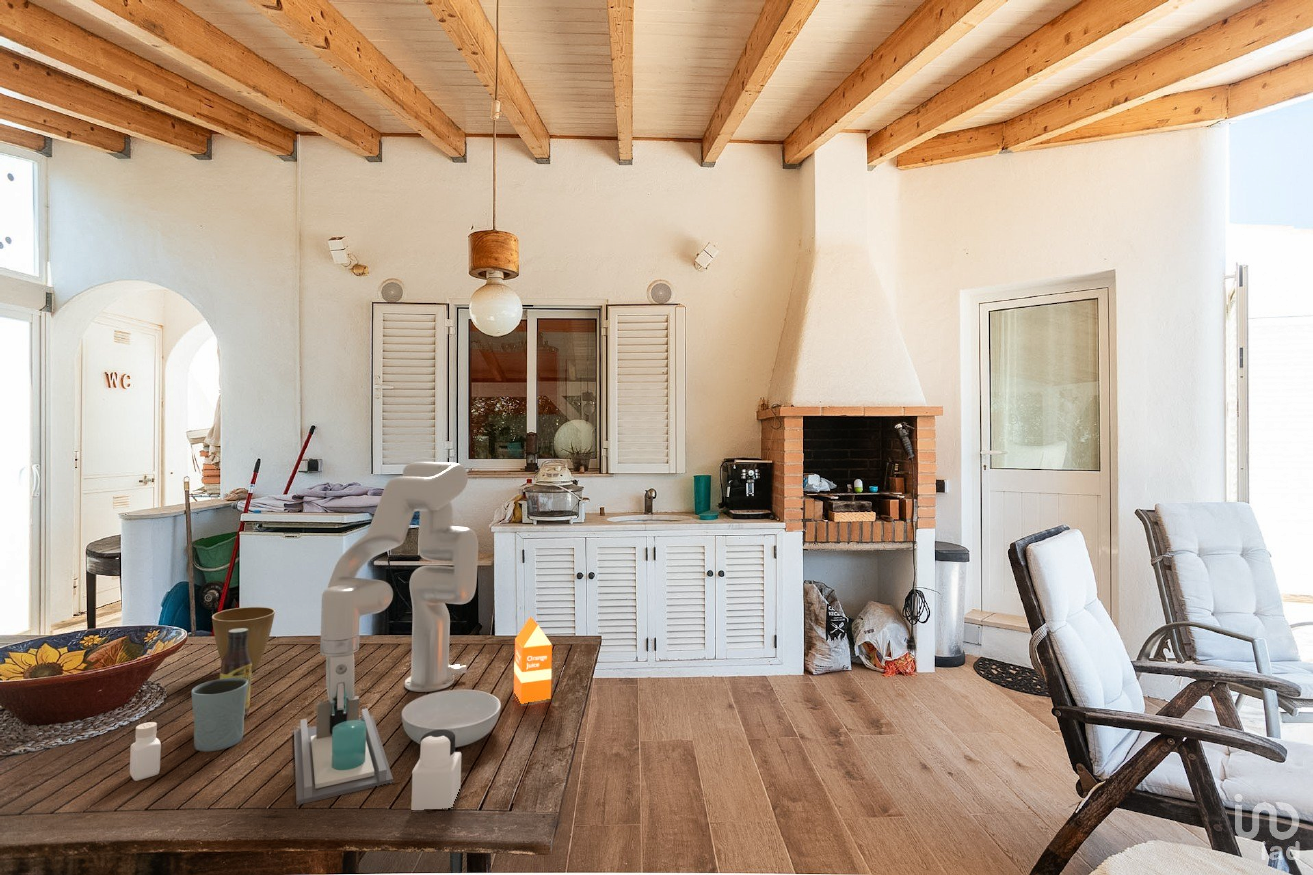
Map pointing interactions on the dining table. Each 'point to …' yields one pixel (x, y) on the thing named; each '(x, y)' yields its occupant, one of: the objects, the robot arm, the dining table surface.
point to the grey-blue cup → (219, 713)
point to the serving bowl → (452, 715)
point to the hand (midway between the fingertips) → (337, 729)
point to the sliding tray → (323, 748)
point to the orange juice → (532, 664)
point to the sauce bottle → (238, 660)
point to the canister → (348, 744)
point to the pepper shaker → (145, 752)
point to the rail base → (309, 793)
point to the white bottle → (436, 772)
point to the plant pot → (248, 617)
